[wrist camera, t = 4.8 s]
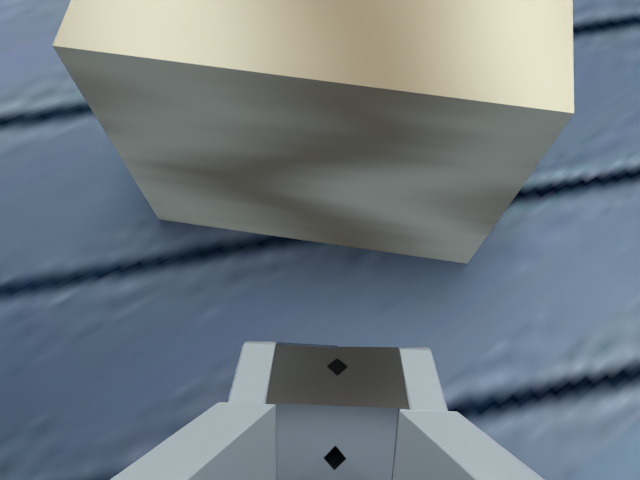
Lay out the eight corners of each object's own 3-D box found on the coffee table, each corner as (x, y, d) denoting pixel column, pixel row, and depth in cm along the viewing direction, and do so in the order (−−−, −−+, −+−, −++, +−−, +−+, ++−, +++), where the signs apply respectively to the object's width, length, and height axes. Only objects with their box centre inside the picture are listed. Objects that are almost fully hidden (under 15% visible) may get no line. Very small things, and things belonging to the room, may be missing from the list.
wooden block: (159, 220, 17) (52, 45, 10) (236, -52, 21) (197, -309, 14) (466, 265, 17) (573, 113, 10) (483, -22, 21) (568, -273, 14)
